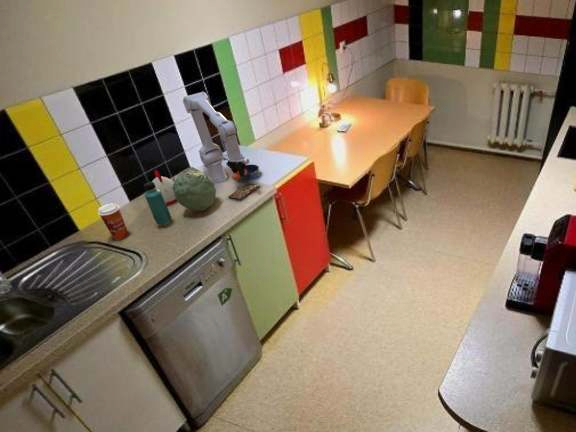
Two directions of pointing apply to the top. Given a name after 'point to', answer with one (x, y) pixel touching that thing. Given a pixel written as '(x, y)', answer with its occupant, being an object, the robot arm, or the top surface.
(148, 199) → the beverage bottle
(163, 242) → the top surface
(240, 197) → the board
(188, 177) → the cabbage
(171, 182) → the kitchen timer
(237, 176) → the hot dog
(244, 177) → the dark blue bowl
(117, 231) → the paper cup
